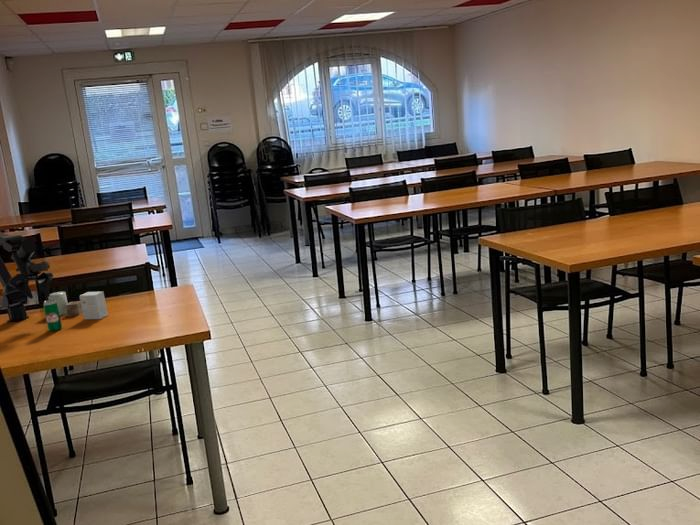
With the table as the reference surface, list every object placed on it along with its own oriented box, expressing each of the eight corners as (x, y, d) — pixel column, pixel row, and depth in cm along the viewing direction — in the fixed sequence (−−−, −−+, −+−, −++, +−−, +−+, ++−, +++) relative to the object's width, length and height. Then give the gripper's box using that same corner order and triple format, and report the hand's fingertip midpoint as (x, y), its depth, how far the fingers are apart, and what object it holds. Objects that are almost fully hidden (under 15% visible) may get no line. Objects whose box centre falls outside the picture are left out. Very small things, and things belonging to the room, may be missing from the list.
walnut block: (67, 316, 280) (65, 305, 279) (71, 313, 285) (69, 302, 284) (79, 315, 280) (77, 304, 279) (83, 311, 285) (81, 300, 284)
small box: (108, 315, 275) (104, 291, 273) (100, 319, 270) (95, 295, 268) (92, 315, 278) (87, 291, 275) (83, 319, 272) (79, 295, 270)
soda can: (47, 332, 259) (41, 303, 256) (49, 329, 263) (43, 300, 261) (61, 330, 260) (55, 301, 257) (63, 326, 265) (57, 298, 262)
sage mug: (68, 314, 283) (64, 294, 281) (51, 317, 281) (47, 297, 279) (70, 309, 291) (66, 290, 289) (53, 312, 289) (49, 292, 287)
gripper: (20, 254, 256) (37, 289, 254) (54, 253, 274) (70, 286, 272) (0, 268, 259) (17, 302, 257) (35, 266, 277) (51, 299, 275)
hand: (40, 297), depth 265 cm, fingers open, 9 cm apart
